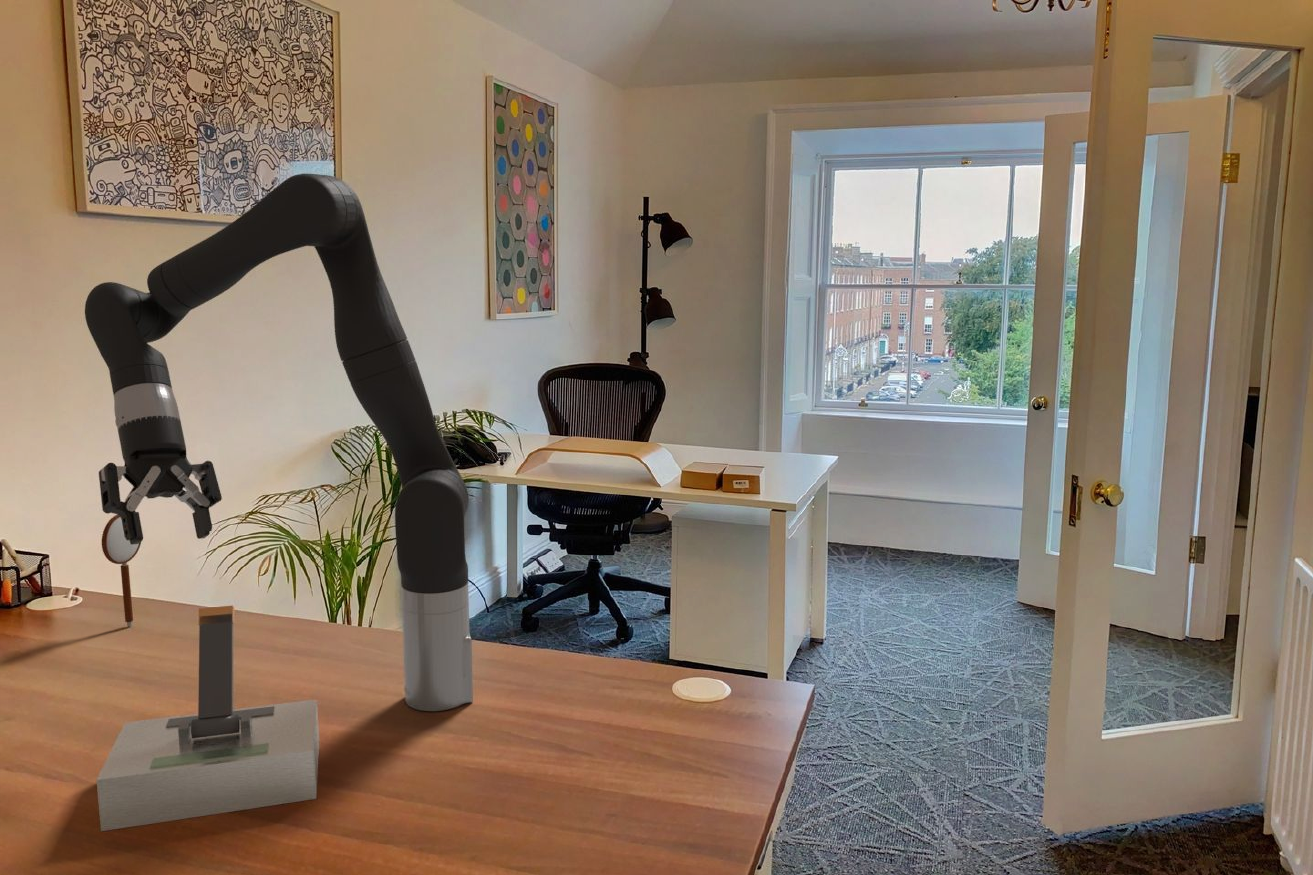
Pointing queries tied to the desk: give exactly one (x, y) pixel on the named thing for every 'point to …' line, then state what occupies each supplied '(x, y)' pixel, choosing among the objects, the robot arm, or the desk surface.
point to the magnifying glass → (120, 558)
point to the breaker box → (209, 766)
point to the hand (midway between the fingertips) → (171, 539)
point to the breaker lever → (215, 674)
